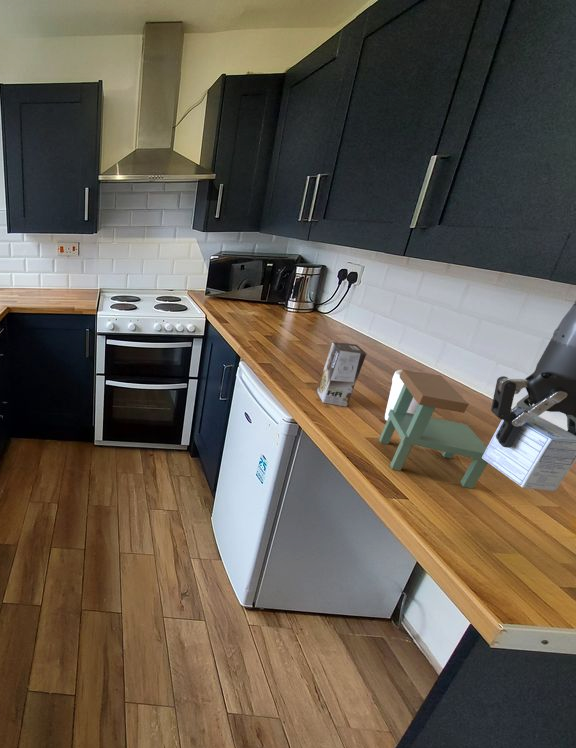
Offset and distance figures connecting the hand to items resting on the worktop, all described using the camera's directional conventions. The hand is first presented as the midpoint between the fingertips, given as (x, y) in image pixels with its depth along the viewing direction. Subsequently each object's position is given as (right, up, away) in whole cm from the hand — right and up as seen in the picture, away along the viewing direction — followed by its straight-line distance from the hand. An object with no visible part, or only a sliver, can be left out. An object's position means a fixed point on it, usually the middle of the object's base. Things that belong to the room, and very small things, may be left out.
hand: (530, 450), depth 60 cm
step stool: (+10, -8, +29) cm, 32 cm away
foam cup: (+19, 0, +47) cm, 51 cm away
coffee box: (+9, +5, +58) cm, 59 cm away
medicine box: (0, -4, +2) cm, 5 cm away
